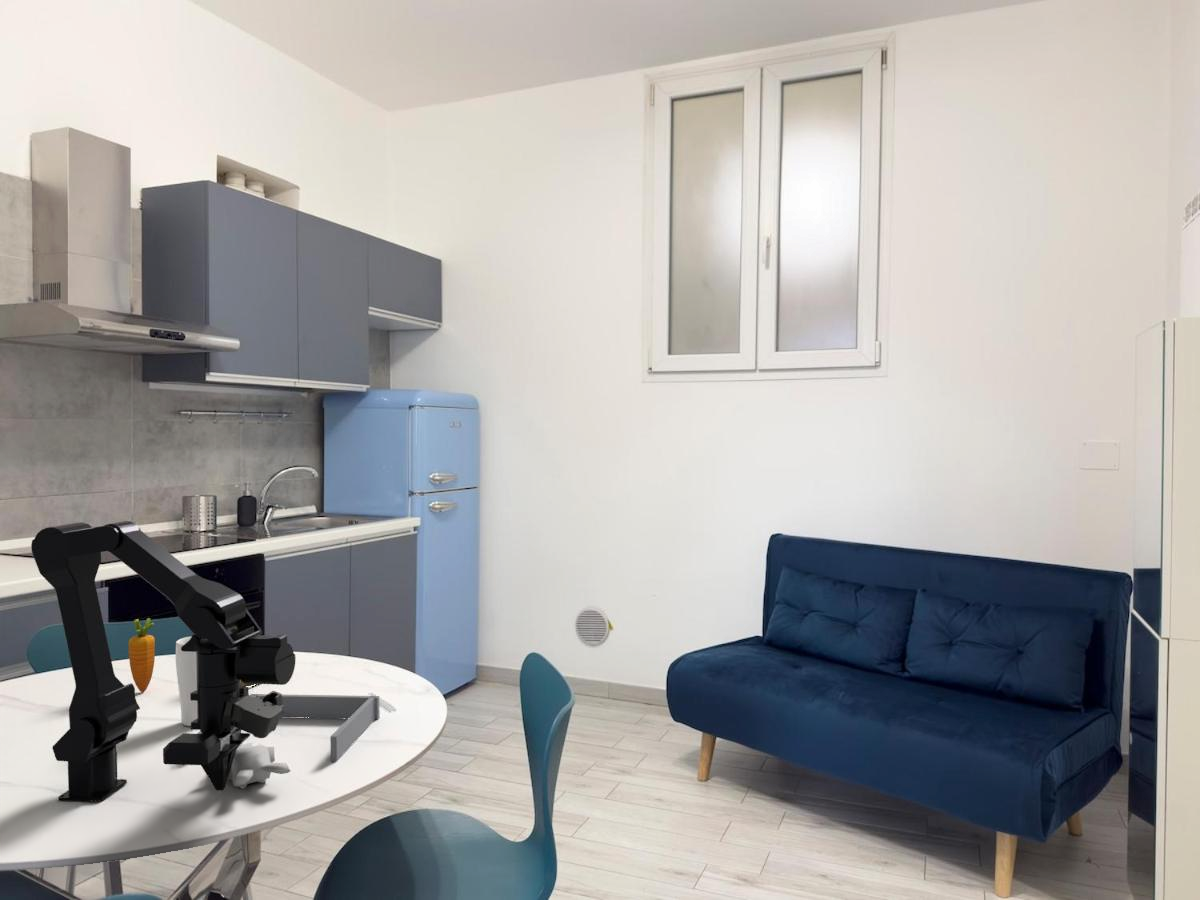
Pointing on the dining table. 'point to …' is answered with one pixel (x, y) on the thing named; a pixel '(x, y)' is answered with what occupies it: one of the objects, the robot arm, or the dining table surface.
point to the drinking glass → (186, 681)
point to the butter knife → (384, 704)
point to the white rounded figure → (254, 765)
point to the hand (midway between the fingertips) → (220, 789)
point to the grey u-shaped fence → (334, 715)
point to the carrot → (142, 655)
